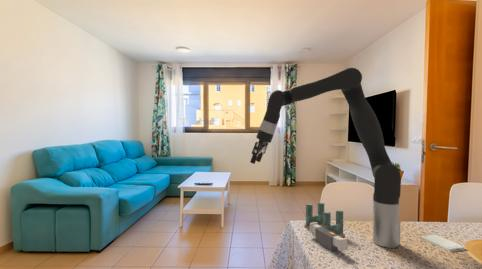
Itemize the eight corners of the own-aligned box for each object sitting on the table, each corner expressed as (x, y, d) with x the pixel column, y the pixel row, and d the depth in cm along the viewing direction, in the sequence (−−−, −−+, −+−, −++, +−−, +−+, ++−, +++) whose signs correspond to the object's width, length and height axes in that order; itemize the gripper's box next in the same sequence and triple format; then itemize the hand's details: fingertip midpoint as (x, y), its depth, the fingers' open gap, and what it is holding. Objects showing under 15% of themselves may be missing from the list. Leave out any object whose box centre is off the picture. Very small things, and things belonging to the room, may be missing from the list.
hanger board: (321, 224, 126) (321, 202, 126) (344, 236, 111) (344, 211, 111) (304, 226, 123) (304, 203, 123) (325, 239, 108) (326, 213, 108)
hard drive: (420, 236, 110) (449, 248, 97) (436, 234, 111) (466, 246, 99) (420, 239, 110) (449, 253, 97) (436, 238, 111) (466, 251, 99)
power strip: (316, 235, 112) (317, 222, 112) (347, 255, 95) (347, 238, 95) (309, 237, 111) (309, 223, 111) (339, 256, 93) (339, 240, 93)
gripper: (269, 133, 114) (257, 167, 116) (277, 134, 127) (266, 163, 129) (255, 128, 116) (243, 160, 118) (263, 128, 129) (253, 158, 131)
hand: (255, 162), depth 124 cm, fingers open, 8 cm apart
